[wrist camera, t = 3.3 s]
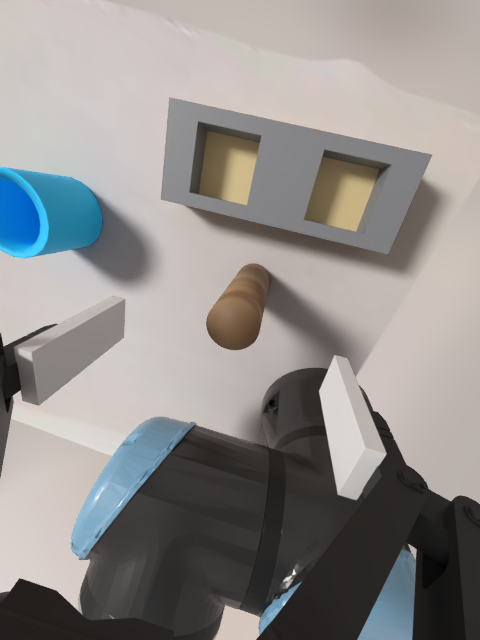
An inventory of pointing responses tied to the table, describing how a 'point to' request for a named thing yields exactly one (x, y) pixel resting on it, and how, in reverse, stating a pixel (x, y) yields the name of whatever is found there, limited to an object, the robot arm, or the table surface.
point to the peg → (240, 309)
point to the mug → (45, 213)
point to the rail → (289, 175)
